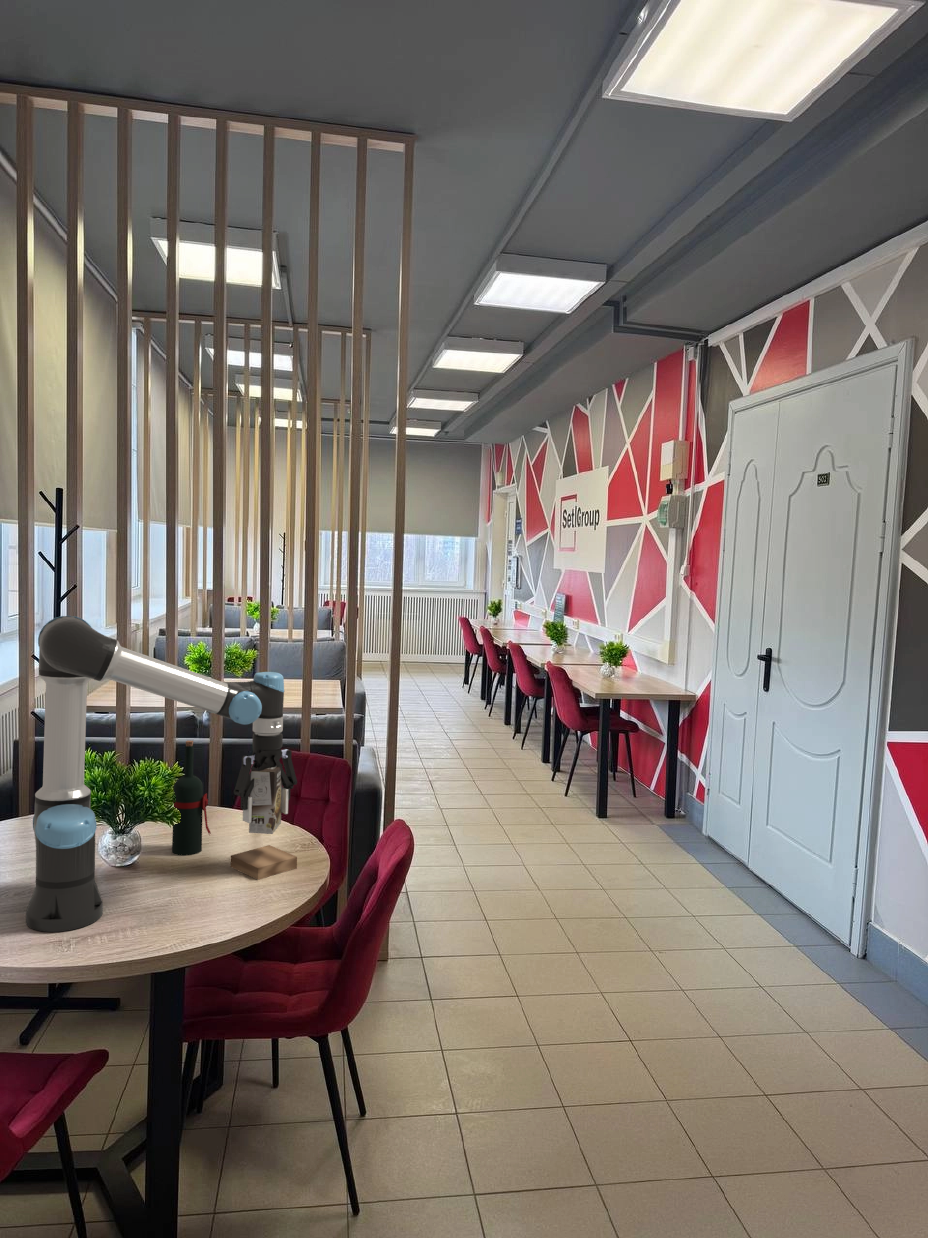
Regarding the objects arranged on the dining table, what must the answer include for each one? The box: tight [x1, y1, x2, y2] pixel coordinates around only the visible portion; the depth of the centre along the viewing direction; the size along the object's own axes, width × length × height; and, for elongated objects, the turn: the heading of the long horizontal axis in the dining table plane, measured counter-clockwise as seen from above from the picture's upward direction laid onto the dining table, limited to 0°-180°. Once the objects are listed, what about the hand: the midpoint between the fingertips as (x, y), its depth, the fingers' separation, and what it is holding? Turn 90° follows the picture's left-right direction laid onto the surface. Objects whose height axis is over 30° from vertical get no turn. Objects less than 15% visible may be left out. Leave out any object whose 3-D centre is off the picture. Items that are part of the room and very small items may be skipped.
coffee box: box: [248, 763, 284, 835], centre depth 216 cm, size 9×6×16 cm
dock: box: [230, 844, 298, 881], centre depth 217 cm, size 12×12×3 cm
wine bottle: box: [171, 740, 212, 857], centre depth 226 cm, size 8×10×30 cm
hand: (265, 817), depth 216 cm, fingers closed on coffee box, 11 cm apart
